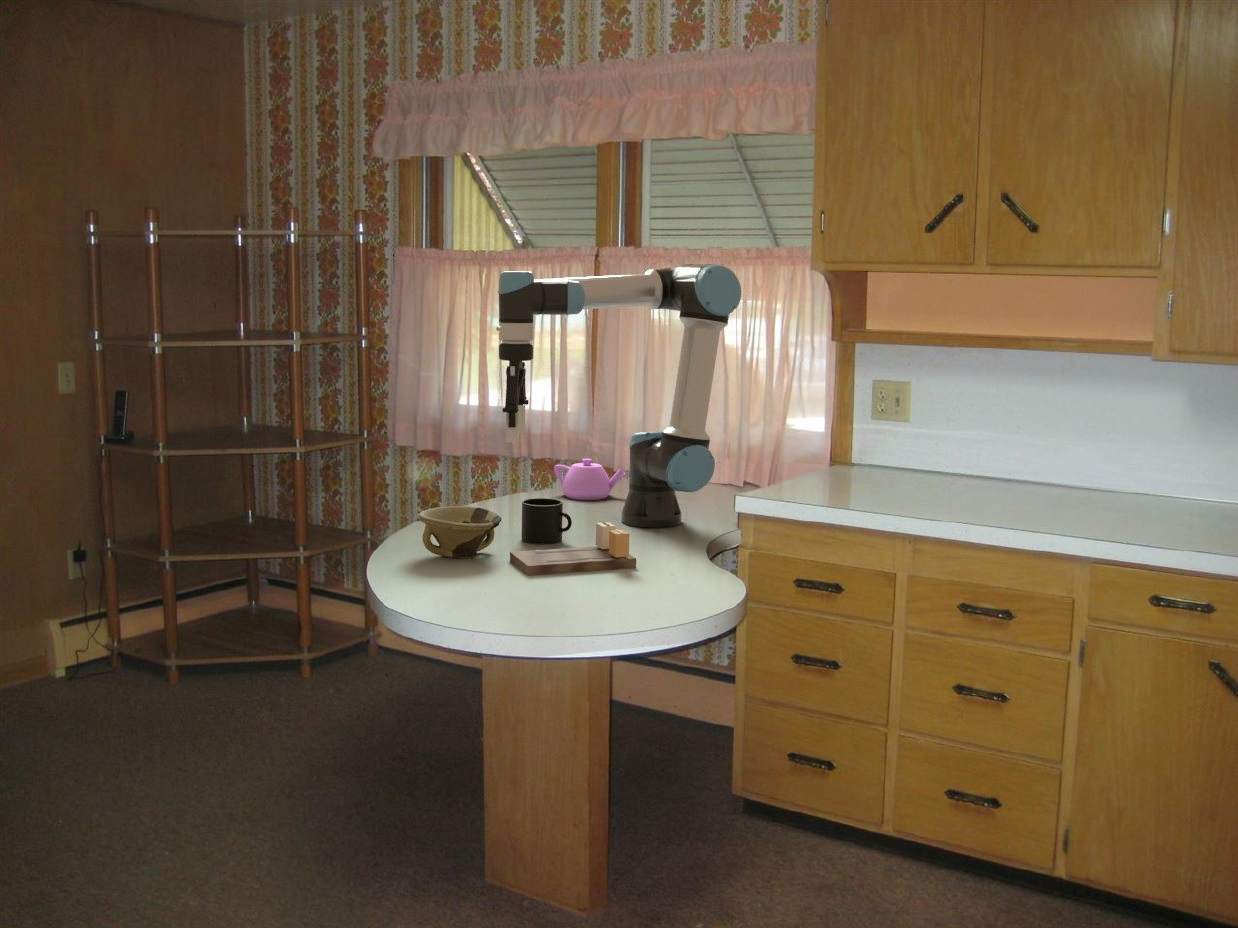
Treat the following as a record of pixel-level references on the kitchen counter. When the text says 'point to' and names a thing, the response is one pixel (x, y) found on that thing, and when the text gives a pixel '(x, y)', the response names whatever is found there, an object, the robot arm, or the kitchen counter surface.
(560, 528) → the mug
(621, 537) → the orange fader knob
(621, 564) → the console board
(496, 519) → the bowl
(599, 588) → the kitchen counter surface
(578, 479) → the teapot
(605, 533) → the cream fader knob
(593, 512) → the kitchen counter surface
